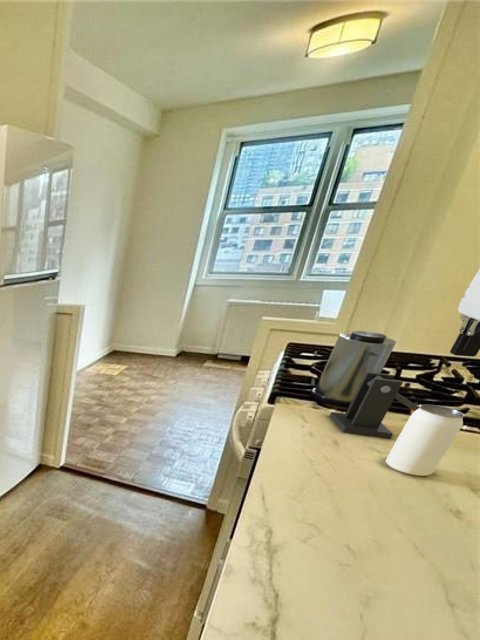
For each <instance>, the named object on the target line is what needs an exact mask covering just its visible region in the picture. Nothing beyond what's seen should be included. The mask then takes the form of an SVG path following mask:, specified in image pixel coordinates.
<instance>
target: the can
mask: <svg viewBox="0 0 480 640" xmlns="http://www.w3.org/2000/svg"><path fill="white" fill-rule="evenodd" d="M420 405H421V406H420V408H419V409H417V410H416V411H414V412H413V413H412V415H411V414H410V416H409V418H408V420H407V421H406V423H405V425H404V427H403V428H402V430H401V432H400V434H399V435H398V437H397V439H396V440H395V443H393V446H392V448H391V450H390V452H388V455H387V457H386V459H385V463H386V465H387V466H388V467H389V468H391V469H392V470H394V471H396V472H399V473H402V474H405V475H409V476H415V477H428V476H431V475H433V473H434V472H435V470H436V468H437V467H438V466H439V464H440V462H442V459H443V458H444V457H445V454H446V453H447V452H448V450H449V448H450V447H451V445H452V443H453V442H454V441H455V439H456V437H457V435H458V434H459V432H460V430H461V429H462V428H463V426H464V421H463V418H464V417H466V416H465V413H463V412H461V411H459V410H457V409H454V408H451V407H448V406H443V405H437V404H420Z"/></svg>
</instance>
